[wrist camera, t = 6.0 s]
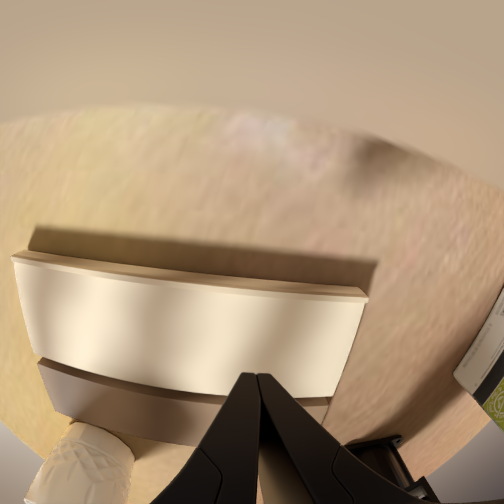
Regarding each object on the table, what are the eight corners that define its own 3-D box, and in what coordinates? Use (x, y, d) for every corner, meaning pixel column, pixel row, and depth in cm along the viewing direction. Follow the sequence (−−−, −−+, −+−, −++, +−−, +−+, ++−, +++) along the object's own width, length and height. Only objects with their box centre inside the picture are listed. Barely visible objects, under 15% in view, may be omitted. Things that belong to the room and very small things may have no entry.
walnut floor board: (325, 389, 16) (330, 401, 15) (306, 437, 18) (309, 448, 16) (43, 350, 15) (35, 358, 13) (61, 402, 16) (55, 411, 15)
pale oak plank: (358, 287, 14) (369, 297, 13) (327, 384, 16) (333, 398, 15) (24, 249, 13) (10, 256, 11) (42, 344, 14) (32, 355, 13)
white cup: (72, 450, 18) (42, 518, 8) (55, 404, 16) (7, 485, 6) (142, 475, 18) (126, 553, 9) (139, 435, 17) (111, 537, 7)
